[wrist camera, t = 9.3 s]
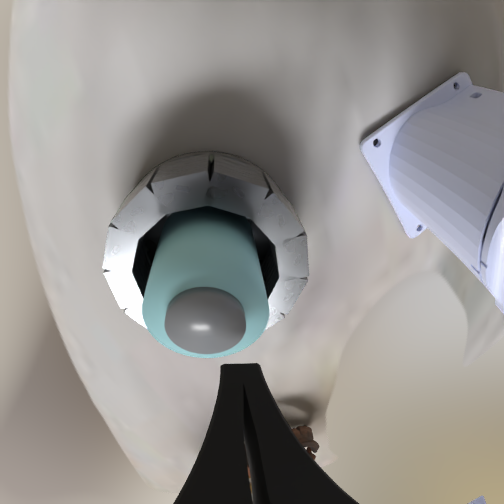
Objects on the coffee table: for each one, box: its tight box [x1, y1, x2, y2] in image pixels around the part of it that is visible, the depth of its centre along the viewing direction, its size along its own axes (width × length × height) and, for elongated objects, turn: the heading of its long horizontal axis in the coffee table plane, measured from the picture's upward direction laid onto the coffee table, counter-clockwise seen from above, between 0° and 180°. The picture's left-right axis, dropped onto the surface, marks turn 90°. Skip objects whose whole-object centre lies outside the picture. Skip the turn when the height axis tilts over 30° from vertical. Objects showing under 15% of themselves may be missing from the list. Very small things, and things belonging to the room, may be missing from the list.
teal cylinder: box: [142, 205, 270, 358], centre depth 15 cm, size 5×5×7 cm
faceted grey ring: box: [103, 151, 309, 330], centre depth 17 cm, size 10×10×4 cm
